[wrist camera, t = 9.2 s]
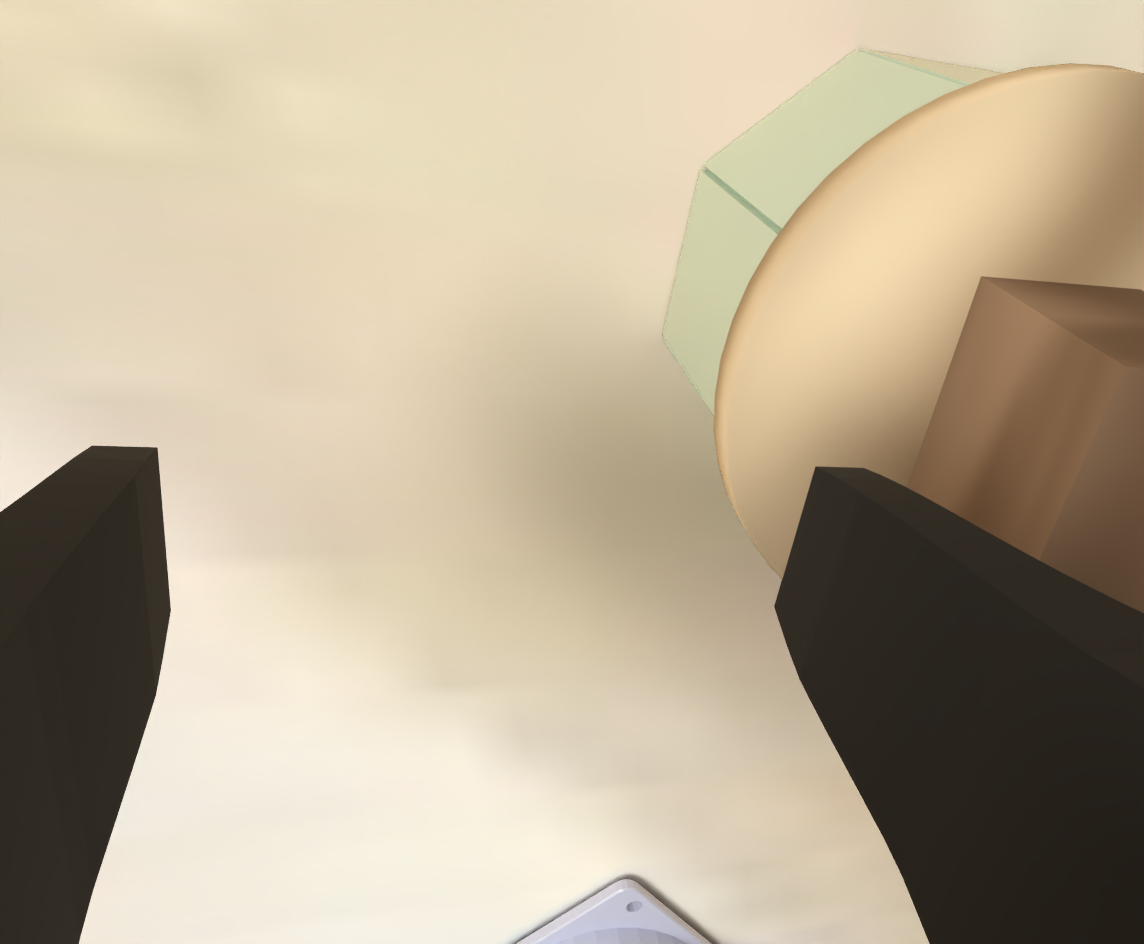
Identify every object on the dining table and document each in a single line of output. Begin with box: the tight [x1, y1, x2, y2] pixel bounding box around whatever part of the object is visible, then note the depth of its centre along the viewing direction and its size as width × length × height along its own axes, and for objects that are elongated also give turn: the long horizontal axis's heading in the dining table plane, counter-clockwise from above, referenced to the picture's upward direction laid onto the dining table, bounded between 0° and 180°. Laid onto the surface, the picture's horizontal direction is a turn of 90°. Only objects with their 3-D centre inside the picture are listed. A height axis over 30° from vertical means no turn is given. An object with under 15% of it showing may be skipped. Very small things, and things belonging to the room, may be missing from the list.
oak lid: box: [714, 63, 1144, 613], centre depth 16 cm, size 10×10×4 cm
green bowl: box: [662, 48, 1004, 416], centre depth 20 cm, size 9×9×5 cm
